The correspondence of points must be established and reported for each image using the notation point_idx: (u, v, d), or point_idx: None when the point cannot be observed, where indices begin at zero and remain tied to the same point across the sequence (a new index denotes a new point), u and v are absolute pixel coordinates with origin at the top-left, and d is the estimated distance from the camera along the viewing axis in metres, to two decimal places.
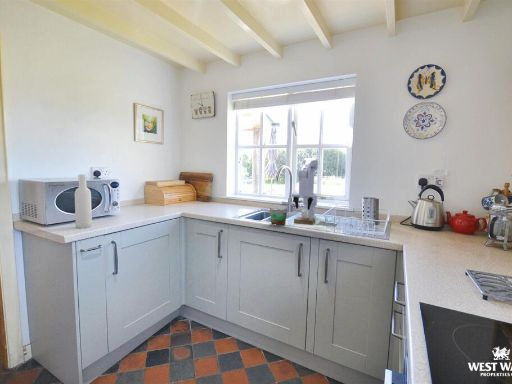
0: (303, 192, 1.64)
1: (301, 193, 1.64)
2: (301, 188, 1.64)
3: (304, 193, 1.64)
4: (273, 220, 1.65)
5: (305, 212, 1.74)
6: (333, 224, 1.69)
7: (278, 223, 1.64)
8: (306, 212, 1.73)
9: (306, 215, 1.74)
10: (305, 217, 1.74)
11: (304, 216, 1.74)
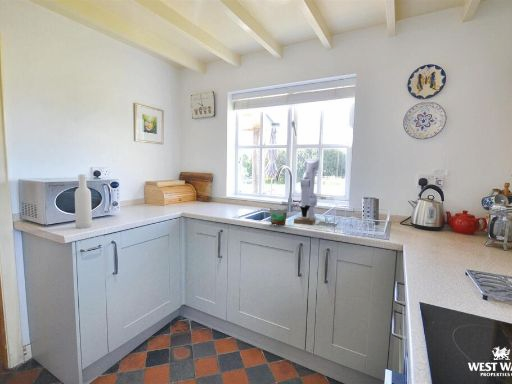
0: (301, 200, 1.75)
1: None
2: None
3: (301, 201, 1.74)
4: (273, 220, 1.65)
5: None
6: (333, 224, 1.69)
7: (278, 223, 1.64)
8: None
9: (306, 215, 1.74)
10: (305, 217, 1.74)
11: None
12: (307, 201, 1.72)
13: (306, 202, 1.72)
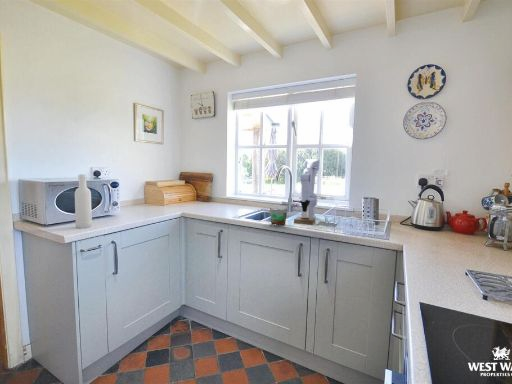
0: (301, 195, 1.75)
1: None
2: None
3: (301, 196, 1.74)
4: (273, 220, 1.65)
5: None
6: (333, 224, 1.69)
7: (278, 223, 1.64)
8: None
9: None
10: (305, 212, 1.74)
11: None
12: (307, 196, 1.72)
13: (306, 197, 1.72)
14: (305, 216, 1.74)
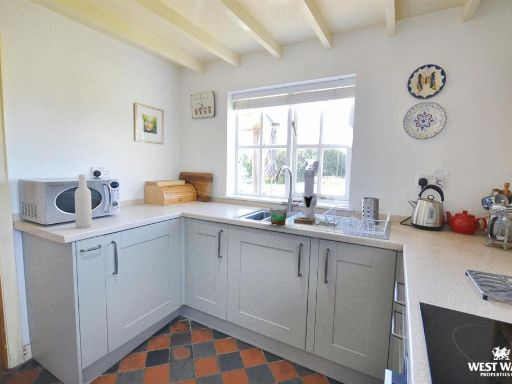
0: (304, 190, 1.73)
1: (304, 191, 1.75)
2: None
3: (304, 191, 1.73)
4: (273, 220, 1.65)
5: None
6: (333, 224, 1.69)
7: (278, 223, 1.64)
8: None
9: None
10: (308, 208, 1.73)
11: None
12: (311, 191, 1.71)
13: (310, 192, 1.71)
14: (308, 212, 1.73)
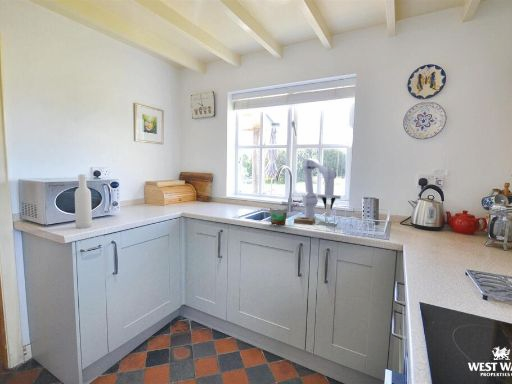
0: (330, 192, 1.68)
1: (328, 193, 1.68)
2: (328, 189, 1.68)
3: (331, 193, 1.68)
4: (273, 220, 1.65)
5: None
6: (333, 224, 1.69)
7: (278, 223, 1.64)
8: None
9: None
10: (330, 210, 1.71)
11: (330, 209, 1.70)
12: None
13: None
14: (330, 214, 1.72)
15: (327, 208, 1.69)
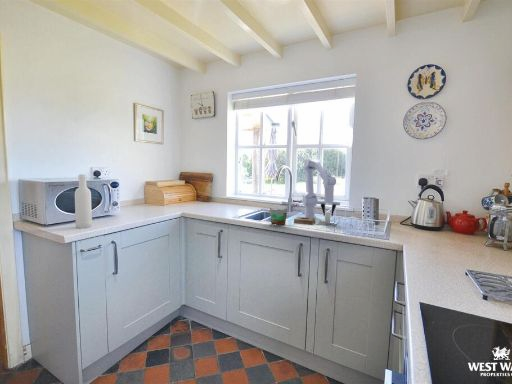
0: (329, 199, 1.68)
1: (327, 200, 1.69)
2: (327, 195, 1.68)
3: (330, 200, 1.68)
4: (273, 220, 1.65)
5: (330, 213, 1.72)
6: (333, 224, 1.69)
7: (278, 223, 1.64)
8: (330, 213, 1.72)
9: (330, 216, 1.72)
10: (330, 218, 1.72)
11: (330, 217, 1.71)
12: None
13: None
14: None
15: (327, 216, 1.70)
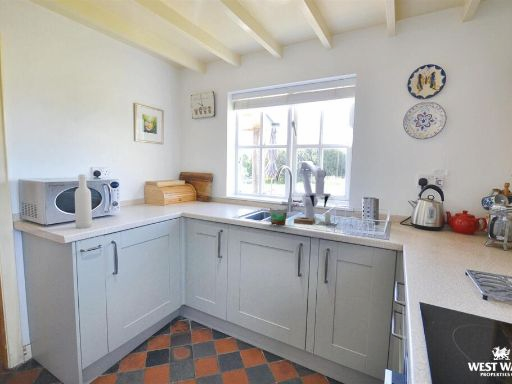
0: (320, 191, 1.75)
1: (318, 192, 1.75)
2: (318, 187, 1.75)
3: (321, 191, 1.75)
4: (273, 220, 1.65)
5: (330, 213, 1.71)
6: (333, 224, 1.69)
7: (278, 223, 1.64)
8: (330, 213, 1.72)
9: (330, 216, 1.72)
10: (330, 218, 1.72)
11: (330, 217, 1.71)
12: None
13: None
14: None
15: (327, 216, 1.70)
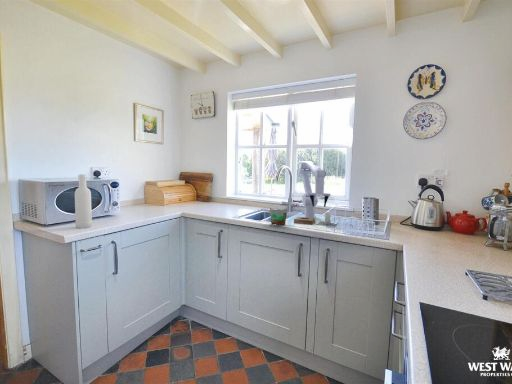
0: (320, 190, 1.75)
1: (318, 191, 1.75)
2: (318, 187, 1.75)
3: (321, 191, 1.75)
4: (273, 220, 1.65)
5: (330, 213, 1.71)
6: (333, 224, 1.69)
7: (278, 223, 1.64)
8: (330, 213, 1.72)
9: (330, 216, 1.72)
10: (330, 218, 1.72)
11: (330, 217, 1.71)
12: None
13: None
14: None
15: (327, 216, 1.70)
